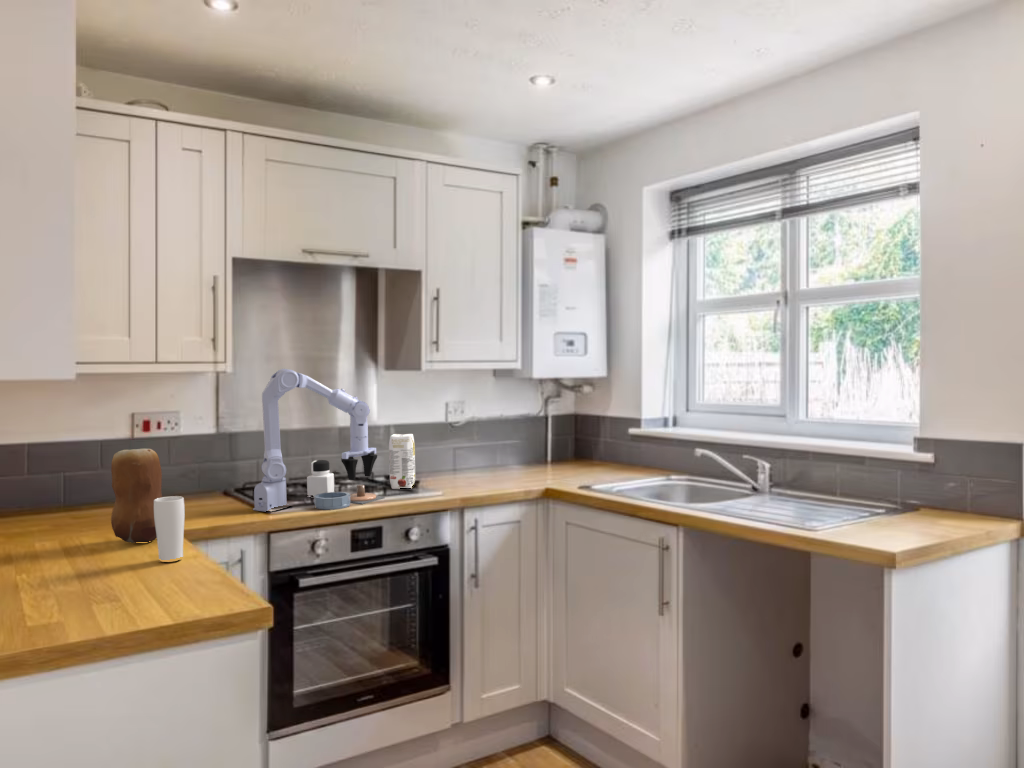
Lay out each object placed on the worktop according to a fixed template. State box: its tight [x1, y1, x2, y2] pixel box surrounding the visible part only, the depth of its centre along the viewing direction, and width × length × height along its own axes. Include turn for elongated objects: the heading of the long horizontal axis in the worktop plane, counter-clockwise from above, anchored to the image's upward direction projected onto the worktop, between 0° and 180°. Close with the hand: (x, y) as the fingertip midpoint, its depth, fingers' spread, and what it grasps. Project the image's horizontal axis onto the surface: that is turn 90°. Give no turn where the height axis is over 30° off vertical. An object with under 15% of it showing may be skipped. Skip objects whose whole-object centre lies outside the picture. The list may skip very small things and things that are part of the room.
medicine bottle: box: [306, 459, 335, 496], centre depth 265 cm, size 7×7×12 cm
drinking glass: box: [154, 495, 186, 560], centre depth 186 cm, size 7×7×15 cm
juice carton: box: [388, 433, 416, 490], centre depth 277 cm, size 8×9×19 cm
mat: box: [350, 495, 386, 505], centre depth 257 cm, size 11×11×1 cm
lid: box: [349, 484, 377, 501], centre depth 257 cm, size 10×10×4 cm
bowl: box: [313, 491, 351, 511], centre depth 247 cm, size 11×11×4 cm
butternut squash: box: [110, 448, 163, 544], centre depth 204 cm, size 14×13×25 cm
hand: (359, 478), depth 257 cm, fingers open, 7 cm apart
